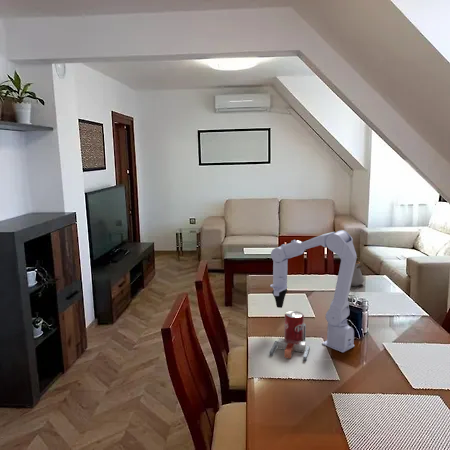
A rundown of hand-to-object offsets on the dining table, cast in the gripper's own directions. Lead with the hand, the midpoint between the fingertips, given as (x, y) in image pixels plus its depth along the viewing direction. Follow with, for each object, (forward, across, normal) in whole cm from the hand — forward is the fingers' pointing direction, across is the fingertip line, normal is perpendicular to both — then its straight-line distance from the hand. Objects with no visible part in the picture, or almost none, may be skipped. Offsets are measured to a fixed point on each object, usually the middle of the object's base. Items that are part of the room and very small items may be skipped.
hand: (279, 307), depth 170 cm
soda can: (+10, +11, +8) cm, 17 cm away
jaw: (+10, +19, +8) cm, 23 cm away
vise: (+10, +14, +8) cm, 19 cm away
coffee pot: (+10, -68, +28) cm, 74 cm away
